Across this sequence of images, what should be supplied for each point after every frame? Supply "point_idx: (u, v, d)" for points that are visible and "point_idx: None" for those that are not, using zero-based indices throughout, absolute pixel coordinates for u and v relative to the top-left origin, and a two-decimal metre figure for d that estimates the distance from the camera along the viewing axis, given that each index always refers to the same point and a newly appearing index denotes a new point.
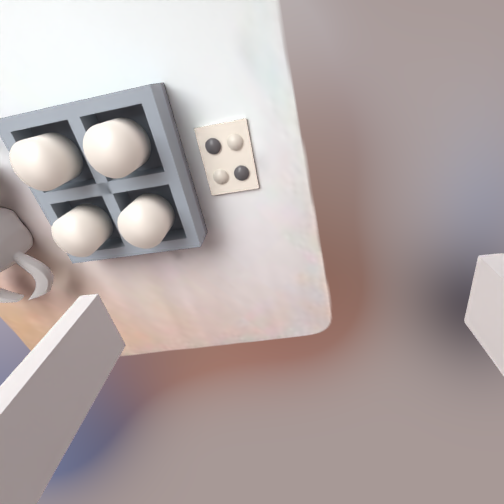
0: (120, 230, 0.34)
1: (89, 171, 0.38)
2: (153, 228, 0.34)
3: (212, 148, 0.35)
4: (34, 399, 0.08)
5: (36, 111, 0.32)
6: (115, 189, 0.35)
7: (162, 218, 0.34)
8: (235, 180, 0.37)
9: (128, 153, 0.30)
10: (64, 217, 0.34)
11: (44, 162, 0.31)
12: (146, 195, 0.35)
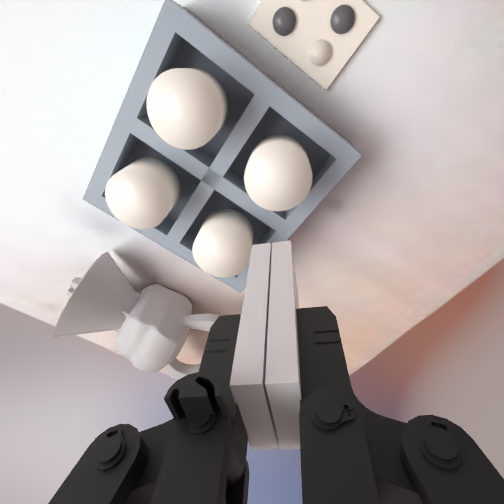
0: (258, 203, 0.25)
1: (188, 183, 0.31)
2: (292, 166, 0.23)
3: (285, 24, 0.24)
4: None
5: (103, 152, 0.27)
6: (221, 169, 0.27)
7: (294, 146, 0.23)
8: (341, 38, 0.24)
9: (201, 92, 0.21)
10: (197, 237, 0.27)
11: (139, 189, 0.25)
12: (256, 146, 0.26)
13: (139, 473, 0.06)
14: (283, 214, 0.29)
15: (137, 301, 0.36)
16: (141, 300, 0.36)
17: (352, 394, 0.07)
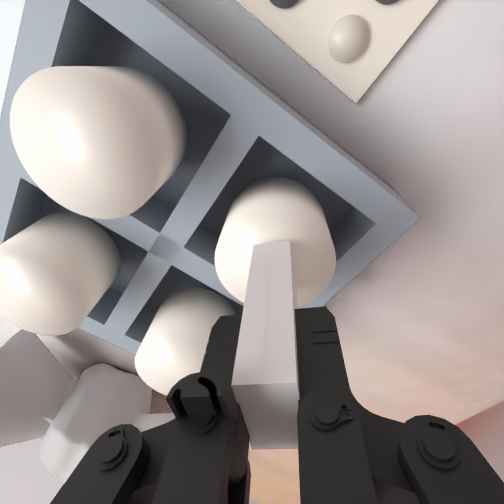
0: (241, 298, 0.14)
1: None
2: (299, 244, 0.13)
3: None
4: None
5: None
6: (181, 236, 0.16)
7: (303, 208, 0.13)
8: (387, 13, 0.14)
9: (115, 115, 0.10)
10: (140, 348, 0.16)
11: (31, 279, 0.14)
12: (238, 197, 0.15)
13: (141, 473, 0.06)
14: None
15: (69, 396, 0.25)
16: (75, 395, 0.25)
17: (350, 394, 0.07)
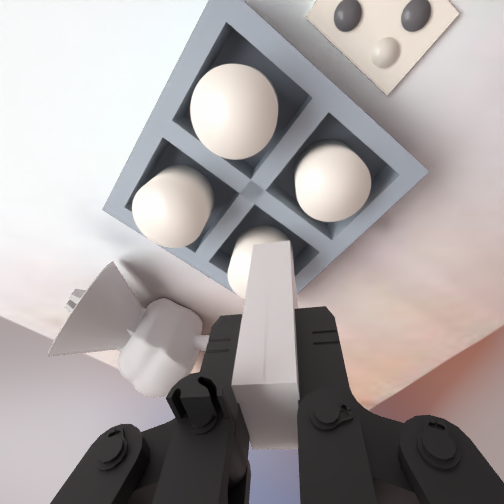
0: (308, 212, 0.23)
1: (221, 194, 0.27)
2: (350, 174, 0.21)
3: (349, 19, 0.21)
4: None
5: (130, 158, 0.23)
6: (265, 181, 0.23)
7: (353, 152, 0.21)
8: (411, 37, 0.21)
9: (257, 93, 0.18)
10: (234, 258, 0.23)
11: (172, 203, 0.21)
12: (305, 151, 0.24)
13: (141, 473, 0.06)
14: (328, 233, 0.26)
15: (143, 318, 0.32)
16: (148, 317, 0.32)
17: (350, 394, 0.07)
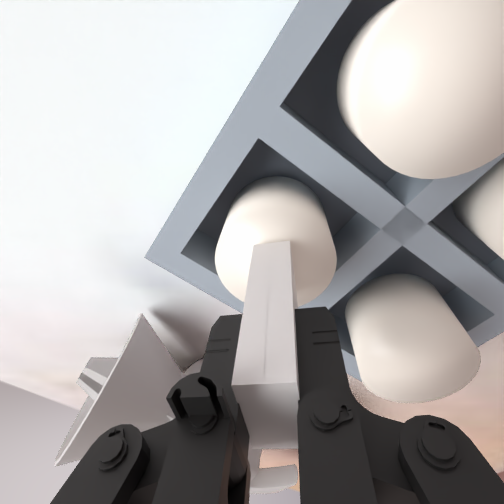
0: None
1: None
2: None
3: None
4: None
5: (196, 175, 0.14)
6: (430, 209, 0.13)
7: None
8: None
9: None
10: (379, 342, 0.14)
11: None
12: None
13: (141, 473, 0.06)
14: None
15: None
16: None
17: (350, 394, 0.07)
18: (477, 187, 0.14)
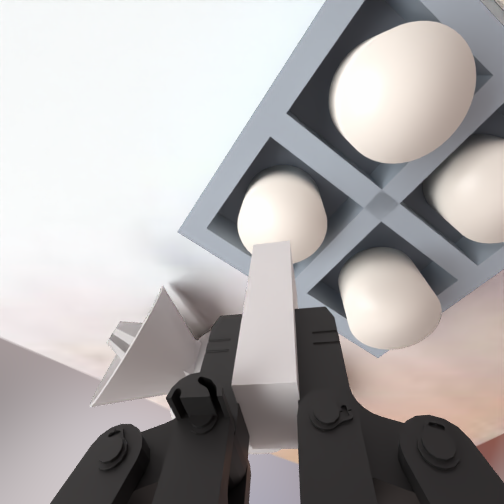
0: (464, 231, 0.17)
1: None
2: None
3: None
4: None
5: (222, 165, 0.18)
6: (401, 192, 0.18)
7: None
8: None
9: (450, 65, 0.12)
10: (362, 294, 0.18)
11: (290, 210, 0.17)
12: None
13: (141, 473, 0.06)
14: (467, 255, 0.20)
15: (200, 355, 0.27)
16: None
17: (350, 394, 0.07)
18: (438, 176, 0.18)
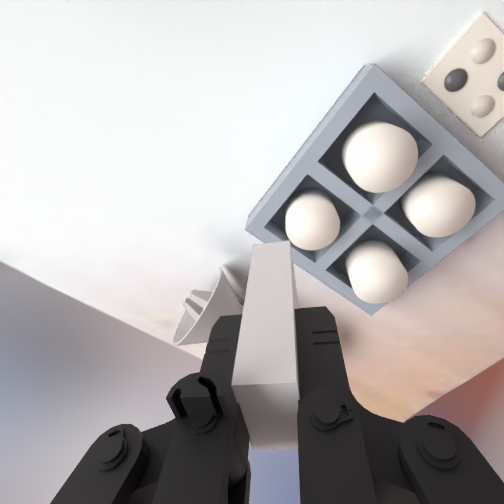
0: (421, 230, 0.29)
1: None
2: (459, 201, 0.27)
3: (456, 83, 0.27)
4: None
5: (277, 189, 0.30)
6: (384, 206, 0.29)
7: None
8: None
9: (404, 145, 0.24)
10: (360, 267, 0.30)
11: (318, 217, 0.29)
12: None
13: (141, 473, 0.06)
14: (427, 246, 0.32)
15: None
16: None
17: (350, 394, 0.07)
18: (407, 196, 0.30)
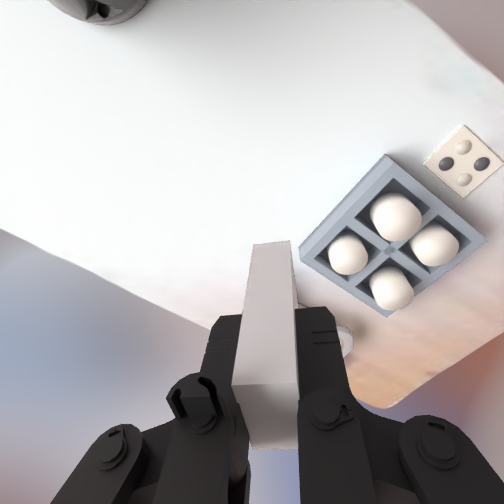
0: (422, 262, 0.43)
1: None
2: (448, 244, 0.41)
3: (446, 165, 0.41)
4: None
5: (325, 235, 0.44)
6: (398, 245, 0.43)
7: (449, 233, 0.41)
8: (478, 173, 0.41)
9: (413, 214, 0.38)
10: (382, 287, 0.44)
11: (353, 253, 0.43)
12: None
13: (141, 473, 0.06)
14: (426, 269, 0.46)
15: None
16: None
17: (350, 394, 0.07)
18: (413, 238, 0.44)
